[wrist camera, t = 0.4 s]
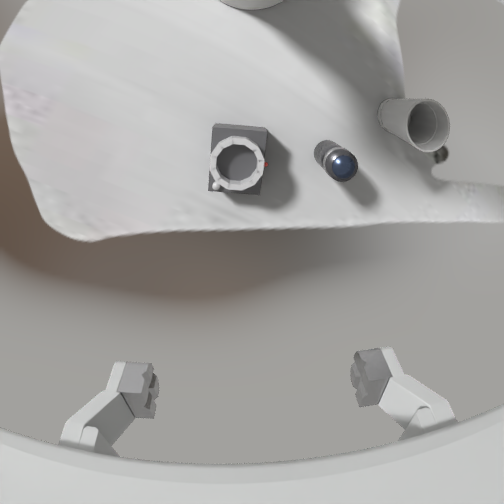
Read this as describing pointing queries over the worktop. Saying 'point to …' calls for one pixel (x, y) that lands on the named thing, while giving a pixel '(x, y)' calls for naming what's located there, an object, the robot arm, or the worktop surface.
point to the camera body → (237, 158)
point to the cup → (416, 122)
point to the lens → (336, 160)
